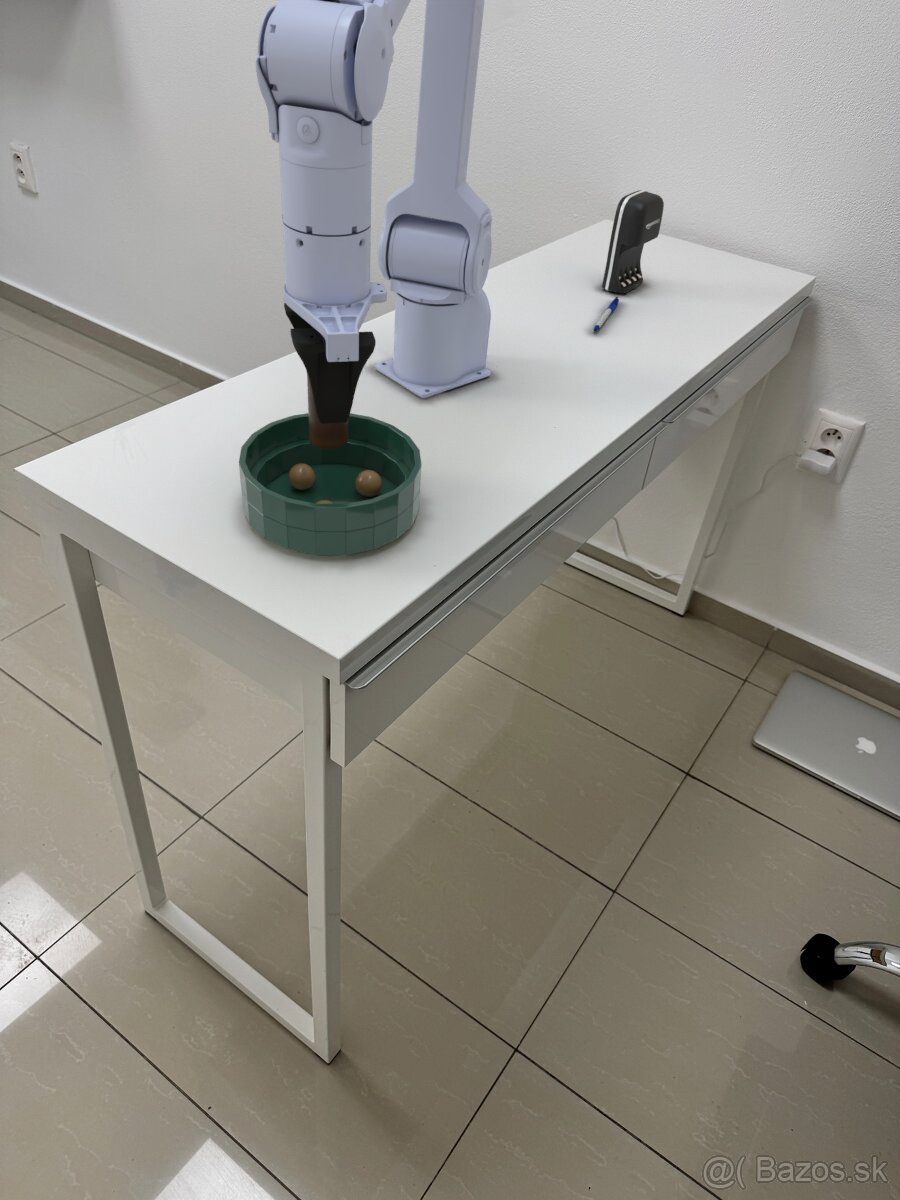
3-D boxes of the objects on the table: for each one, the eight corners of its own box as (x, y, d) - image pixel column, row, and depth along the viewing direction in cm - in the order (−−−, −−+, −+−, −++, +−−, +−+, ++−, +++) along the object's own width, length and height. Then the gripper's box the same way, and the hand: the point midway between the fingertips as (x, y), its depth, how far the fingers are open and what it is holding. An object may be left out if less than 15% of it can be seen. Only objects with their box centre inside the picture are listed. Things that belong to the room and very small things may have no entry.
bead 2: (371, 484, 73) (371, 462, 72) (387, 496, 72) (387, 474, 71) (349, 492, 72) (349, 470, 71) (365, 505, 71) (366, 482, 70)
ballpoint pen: (612, 301, 109) (613, 293, 109) (619, 303, 109) (620, 295, 109) (592, 332, 102) (594, 324, 101) (599, 334, 102) (601, 325, 101)
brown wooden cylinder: (324, 453, 66) (322, 346, 60) (301, 436, 67) (297, 331, 62) (356, 441, 67) (356, 336, 62) (332, 425, 69) (331, 322, 63)
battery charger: (625, 299, 111) (645, 204, 103) (599, 290, 112) (617, 196, 105) (650, 285, 115) (671, 193, 108) (625, 276, 117) (644, 186, 109)
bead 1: (305, 478, 73) (305, 455, 72) (321, 490, 72) (320, 467, 71) (283, 486, 72) (282, 463, 71) (298, 498, 71) (297, 475, 70)
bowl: (350, 446, 79) (350, 396, 76) (452, 520, 71) (457, 468, 68) (212, 496, 71) (205, 443, 68) (309, 585, 64) (307, 530, 61)
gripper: (409, 261, 52) (400, 456, 61) (369, 188, 63) (366, 363, 72) (290, 262, 51) (299, 462, 60) (270, 187, 61) (280, 367, 70)
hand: (330, 409), depth 66 cm, fingers closed on brown wooden cylinder, 3 cm apart
